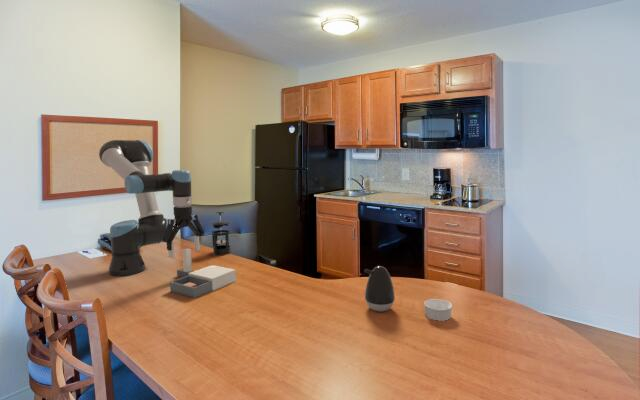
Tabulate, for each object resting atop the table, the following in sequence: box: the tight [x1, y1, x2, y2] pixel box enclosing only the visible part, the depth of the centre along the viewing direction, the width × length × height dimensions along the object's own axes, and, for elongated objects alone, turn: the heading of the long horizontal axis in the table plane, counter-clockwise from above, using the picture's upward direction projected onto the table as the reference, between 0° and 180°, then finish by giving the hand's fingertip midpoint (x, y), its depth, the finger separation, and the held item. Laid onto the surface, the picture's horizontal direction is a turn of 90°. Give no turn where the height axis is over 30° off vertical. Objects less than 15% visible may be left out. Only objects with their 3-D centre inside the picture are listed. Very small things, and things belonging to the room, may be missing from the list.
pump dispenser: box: [364, 265, 396, 313], centre depth 127 cm, size 10×10×15 cm
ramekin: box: [423, 298, 453, 322], centre depth 121 cm, size 9×9×4 cm
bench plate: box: [189, 264, 237, 292], centre depth 155 cm, size 14×13×5 cm
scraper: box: [176, 247, 194, 278], centre depth 162 cm, size 11×3×13 cm, turn 59°
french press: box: [211, 211, 232, 256], centre depth 202 cm, size 12×9×23 cm
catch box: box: [169, 276, 213, 299], centre depth 146 cm, size 14×9×4 cm, turn 59°
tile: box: [183, 282, 197, 287], centre depth 145 cm, size 4×4×2 cm
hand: (184, 253), depth 162 cm, fingers open, 13 cm apart
